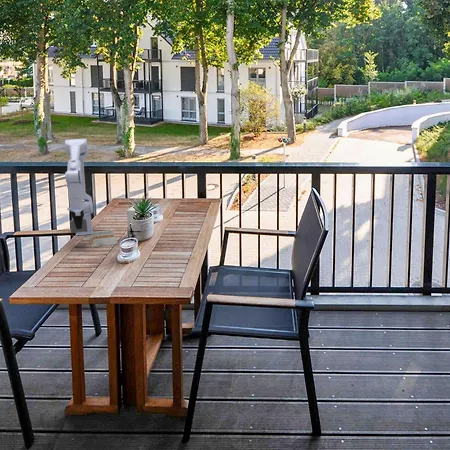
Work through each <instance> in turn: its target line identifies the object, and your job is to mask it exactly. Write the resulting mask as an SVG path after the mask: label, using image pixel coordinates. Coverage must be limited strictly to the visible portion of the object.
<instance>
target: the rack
mask: <svg viewBox="0 0 450 450" xmlns="http://www.w3.org/2000/svg"><path fill="white" fill-rule="evenodd" d="M88 238H89V242H90V246H91V248H94V247H102V246H111V245H113V246H114V245H117V244H118V243H117V242H118V241H117V236H116V234H115V232H114V229H109V230H102V231H101V230H100V231H99V230H98V231H93V232H91V234H90V236H89V237H88Z"/></svg>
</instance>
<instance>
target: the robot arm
mask: <svg viewBox="0 0 450 450" xmlns="http://www.w3.org/2000/svg"><path fill="white" fill-rule="evenodd" d="M88 146H89V145H88V139H87V138H77V139H76V138H75V139H65V140H64V149H65V150H64V151H65V152H66V156H67V157H68V158H69V160H68V161H67V166H66V167H67V169H66V171H65V174H64V175H65V176H64V177H65V178H64V179H65V183H66V188H67V192H68V200H69V202H68V203H69V207H67V211H70V216H71V218H72V220H74V222H75V226H76V229H82V220H83V219H86V222H87V232H78V233H75V236H77V237H79V236H88V235H91V232H94V230H93V229H94V228H93V225H92V215H91V214H93V213H94V205H93V199H92V196H90V195H89V194H87V192H86V181H85V164H84V163H85V159H86V158H87V157H89V147H88ZM78 235H79V236H78Z"/></svg>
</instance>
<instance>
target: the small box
mask: <svg viewBox="0 0 450 450" xmlns="http://www.w3.org/2000/svg"><path fill="white" fill-rule="evenodd" d="M133 207H134V205H133V206H131V207H129V209H127V210H126V218H127V219H126V220H127V228H128V227H129V225H130V223H131V220H132V218H133V216H134V215H135V209H134V208H133Z"/></svg>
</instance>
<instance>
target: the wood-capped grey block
mask: <svg viewBox="0 0 450 450" xmlns="http://www.w3.org/2000/svg"><path fill="white" fill-rule="evenodd" d="M69 227H70V233H71V234H76V233H78V232H87V222H86V219H83V220H82V229H76V226H75V222H74V219H70V220H69Z"/></svg>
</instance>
